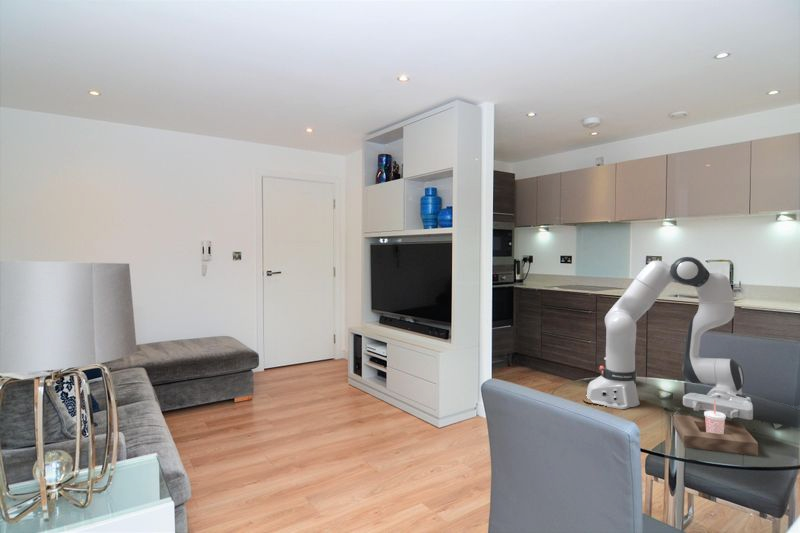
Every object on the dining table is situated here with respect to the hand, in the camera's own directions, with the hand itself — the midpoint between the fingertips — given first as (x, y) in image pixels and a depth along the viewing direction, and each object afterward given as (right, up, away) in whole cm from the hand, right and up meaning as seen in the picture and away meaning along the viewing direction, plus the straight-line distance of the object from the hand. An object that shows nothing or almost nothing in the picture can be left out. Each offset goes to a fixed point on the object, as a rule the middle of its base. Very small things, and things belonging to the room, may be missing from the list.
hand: (712, 412), depth 150 cm
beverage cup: (+1, -10, 0) cm, 10 cm away
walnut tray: (0, -9, +1) cm, 10 cm away
